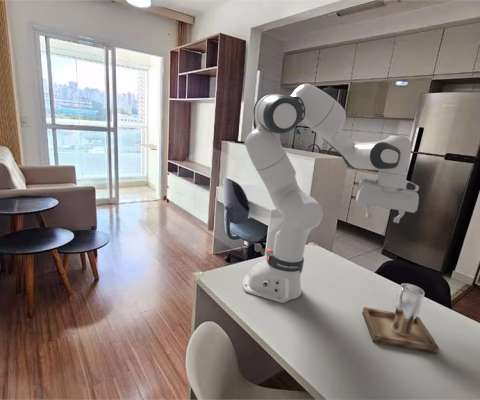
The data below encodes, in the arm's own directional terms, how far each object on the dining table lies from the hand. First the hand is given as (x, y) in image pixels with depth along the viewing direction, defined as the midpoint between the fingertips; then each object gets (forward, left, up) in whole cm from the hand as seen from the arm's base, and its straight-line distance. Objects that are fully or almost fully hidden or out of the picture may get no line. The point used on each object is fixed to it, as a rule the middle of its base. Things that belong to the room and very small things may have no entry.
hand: (381, 220), depth 106 cm
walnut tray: (+5, -21, -31) cm, 37 cm away
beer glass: (+6, -20, -30) cm, 37 cm away
